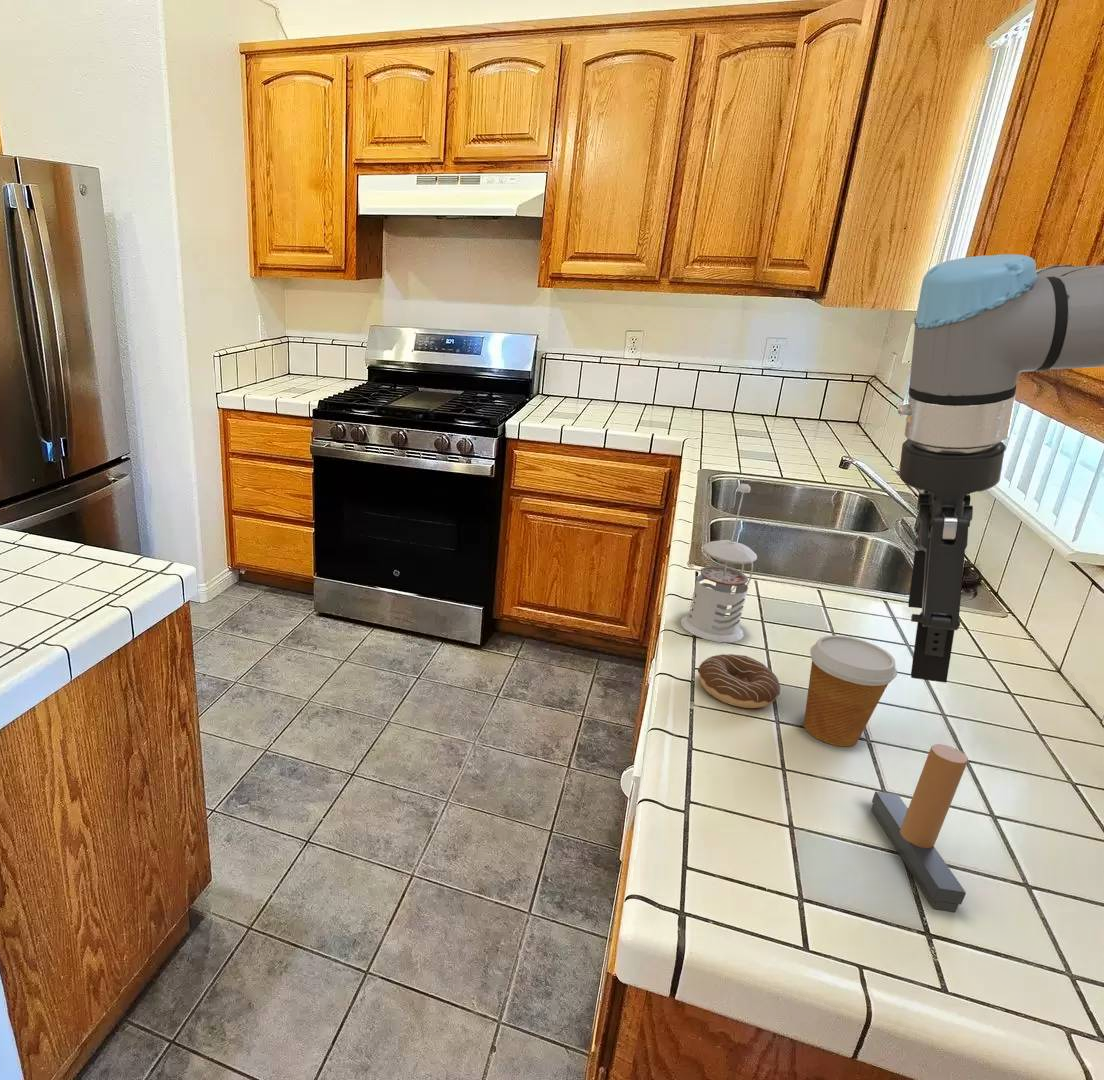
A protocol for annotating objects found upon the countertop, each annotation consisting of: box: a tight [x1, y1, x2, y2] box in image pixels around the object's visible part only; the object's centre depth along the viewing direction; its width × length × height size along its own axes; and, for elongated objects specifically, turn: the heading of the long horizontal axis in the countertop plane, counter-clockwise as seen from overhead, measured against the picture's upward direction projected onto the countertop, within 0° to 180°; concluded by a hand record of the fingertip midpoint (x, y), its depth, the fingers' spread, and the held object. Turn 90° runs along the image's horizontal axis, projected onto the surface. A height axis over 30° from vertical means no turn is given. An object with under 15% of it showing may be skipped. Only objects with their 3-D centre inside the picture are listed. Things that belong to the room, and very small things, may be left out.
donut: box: [697, 653, 781, 709], centre depth 106 cm, size 11×11×4 cm
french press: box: [680, 483, 758, 643], centre depth 121 cm, size 10×12×25 cm
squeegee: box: [870, 743, 969, 913], centre depth 76 cm, size 3×14×13 cm, turn 170°
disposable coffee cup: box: [803, 634, 898, 747], centre depth 96 cm, size 10×10×12 cm
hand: (925, 640), depth 76 cm, fingers open, 13 cm apart
